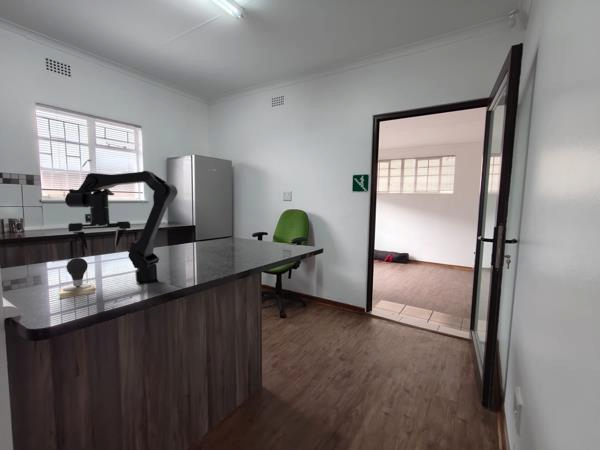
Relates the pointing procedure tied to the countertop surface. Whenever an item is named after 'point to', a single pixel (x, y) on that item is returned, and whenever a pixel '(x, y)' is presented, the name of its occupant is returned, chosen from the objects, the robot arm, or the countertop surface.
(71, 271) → the light bulb
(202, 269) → the countertop surface
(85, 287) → the plinth
